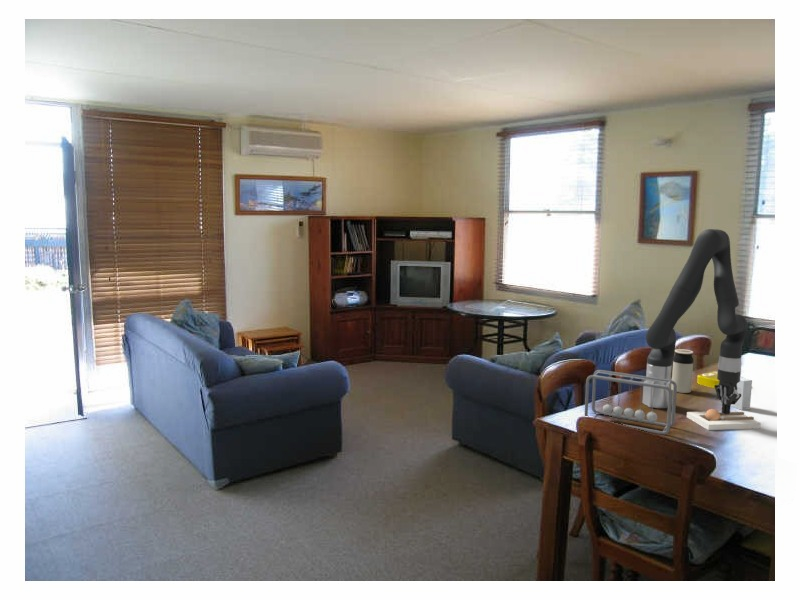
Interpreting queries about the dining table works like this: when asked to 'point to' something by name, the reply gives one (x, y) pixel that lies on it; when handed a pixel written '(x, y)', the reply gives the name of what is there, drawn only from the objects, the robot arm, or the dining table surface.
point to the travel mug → (682, 370)
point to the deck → (725, 421)
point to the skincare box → (743, 394)
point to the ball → (712, 415)
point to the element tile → (708, 379)
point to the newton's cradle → (628, 411)
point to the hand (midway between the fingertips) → (725, 413)
